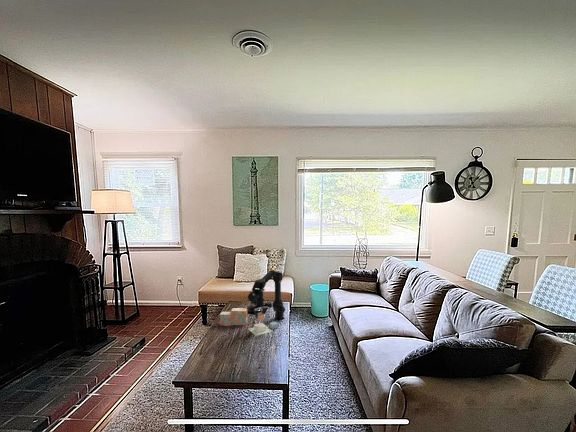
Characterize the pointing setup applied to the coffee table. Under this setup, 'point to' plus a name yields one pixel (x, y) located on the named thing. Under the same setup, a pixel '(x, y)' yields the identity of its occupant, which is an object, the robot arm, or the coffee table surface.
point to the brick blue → (273, 325)
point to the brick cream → (259, 327)
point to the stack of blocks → (234, 317)
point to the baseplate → (259, 332)
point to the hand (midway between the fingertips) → (259, 317)
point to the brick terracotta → (260, 316)
